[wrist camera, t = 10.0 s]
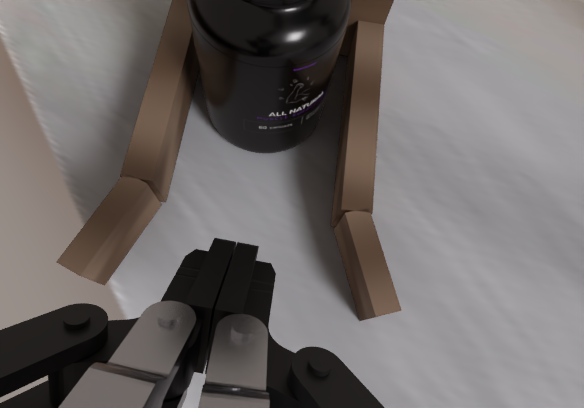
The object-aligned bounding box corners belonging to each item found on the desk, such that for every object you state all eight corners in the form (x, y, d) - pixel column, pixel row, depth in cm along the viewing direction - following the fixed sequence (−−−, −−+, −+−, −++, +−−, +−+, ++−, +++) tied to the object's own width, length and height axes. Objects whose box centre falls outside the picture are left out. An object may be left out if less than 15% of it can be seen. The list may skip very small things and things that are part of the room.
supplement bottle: (291, 177, 23) (324, 12, 12) (185, 126, 23) (118, -80, 12) (339, 87, 25) (406, -124, 14) (242, 42, 26) (230, -196, 14)
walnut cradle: (381, 323, 21) (452, 311, 13) (81, 282, 20) (-25, 244, 13) (395, 38, 27) (449, -82, 19) (167, 1, 26) (130, -137, 19)
